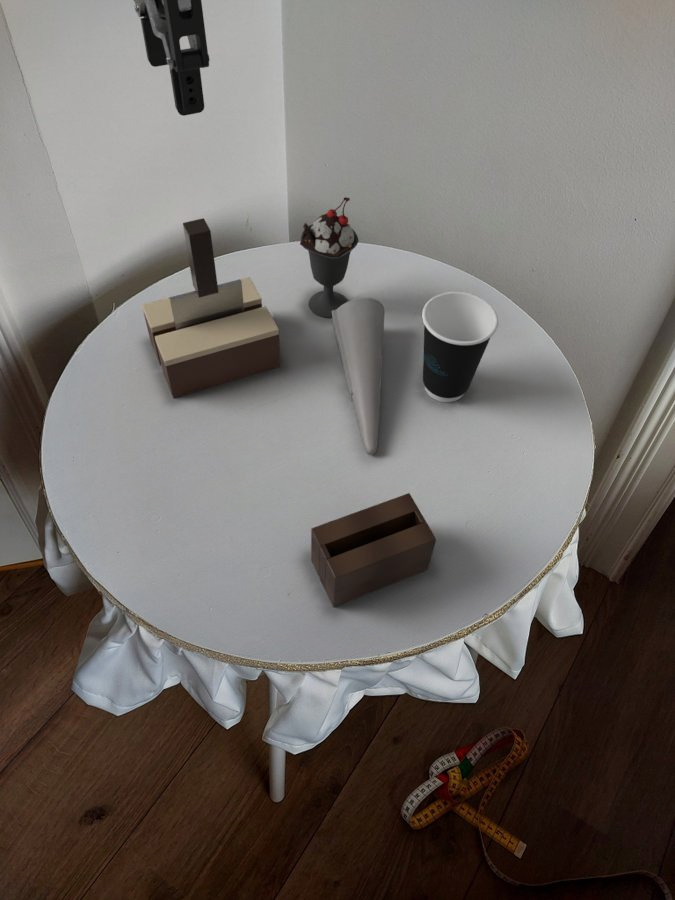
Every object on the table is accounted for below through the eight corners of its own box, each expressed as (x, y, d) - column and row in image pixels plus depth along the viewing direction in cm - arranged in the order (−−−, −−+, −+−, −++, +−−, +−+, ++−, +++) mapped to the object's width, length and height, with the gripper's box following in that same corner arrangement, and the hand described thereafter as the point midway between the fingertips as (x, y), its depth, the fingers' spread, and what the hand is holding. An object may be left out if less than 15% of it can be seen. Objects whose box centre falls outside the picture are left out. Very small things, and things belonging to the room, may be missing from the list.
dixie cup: (483, 370, 86) (503, 299, 77) (472, 419, 81) (492, 350, 73) (418, 355, 87) (430, 284, 78) (404, 403, 82) (415, 333, 74)
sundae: (364, 299, 93) (372, 196, 81) (336, 329, 89) (339, 227, 77) (321, 280, 95) (322, 177, 83) (291, 309, 91) (289, 205, 79)
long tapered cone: (423, 429, 75) (383, 293, 85) (363, 441, 75) (330, 303, 84) (422, 456, 80) (384, 324, 90) (365, 468, 80) (334, 334, 89)
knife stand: (333, 607, 67) (335, 578, 62) (311, 559, 70) (311, 528, 65) (428, 569, 70) (436, 538, 65) (402, 525, 73) (409, 492, 68)
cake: (173, 398, 82) (164, 361, 77) (150, 342, 87) (141, 304, 82) (280, 366, 85) (278, 329, 81) (252, 314, 91) (249, 276, 86)
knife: (185, 369, 85) (160, 242, 70) (180, 357, 86) (153, 229, 71) (250, 351, 87) (238, 223, 72) (244, 339, 88) (231, 211, 73)
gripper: (60, -183, 51) (111, 56, 64) (107, -119, 43) (154, 139, 56) (165, -191, 53) (193, 43, 66) (228, -131, 45) (246, 121, 58)
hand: (175, 87), depth 61 cm, fingers open, 8 cm apart
